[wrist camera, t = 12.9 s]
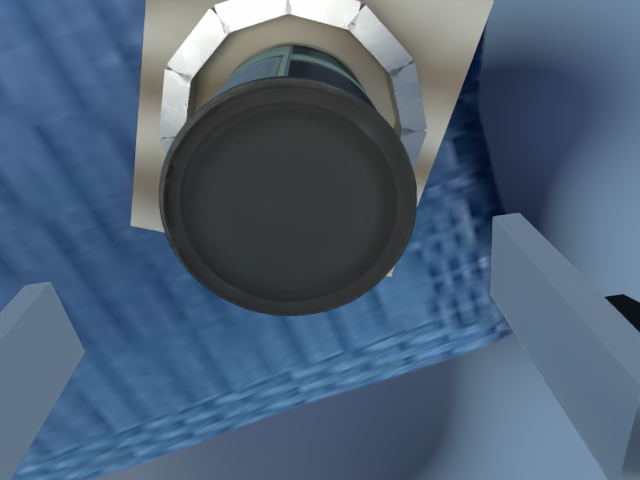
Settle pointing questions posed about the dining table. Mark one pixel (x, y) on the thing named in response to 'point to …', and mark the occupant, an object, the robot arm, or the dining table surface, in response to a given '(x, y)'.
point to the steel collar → (312, 3)
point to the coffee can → (288, 186)
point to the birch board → (385, 3)
